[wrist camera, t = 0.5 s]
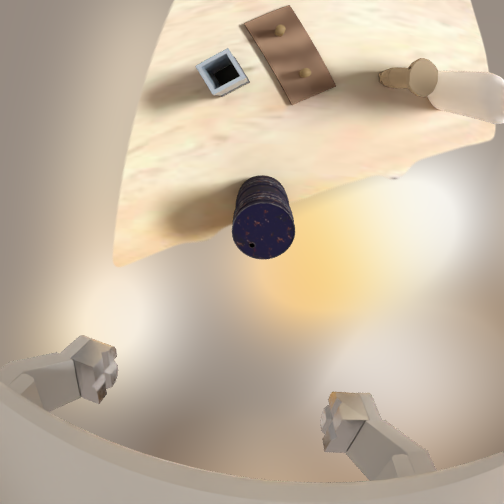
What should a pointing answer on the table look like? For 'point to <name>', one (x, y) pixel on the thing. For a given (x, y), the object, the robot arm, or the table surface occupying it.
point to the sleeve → (217, 64)
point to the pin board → (290, 54)
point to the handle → (412, 77)
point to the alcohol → (470, 95)
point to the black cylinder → (262, 218)
